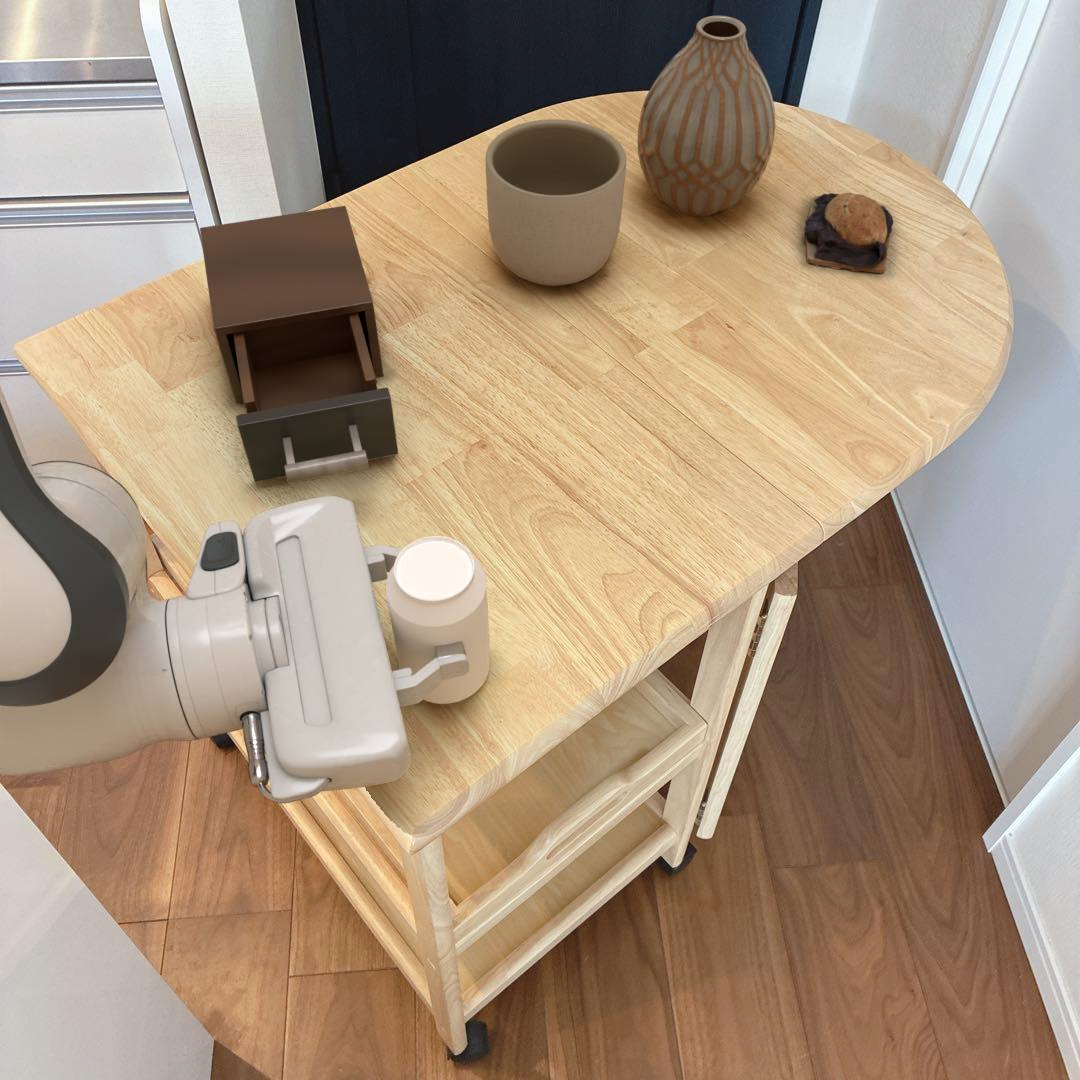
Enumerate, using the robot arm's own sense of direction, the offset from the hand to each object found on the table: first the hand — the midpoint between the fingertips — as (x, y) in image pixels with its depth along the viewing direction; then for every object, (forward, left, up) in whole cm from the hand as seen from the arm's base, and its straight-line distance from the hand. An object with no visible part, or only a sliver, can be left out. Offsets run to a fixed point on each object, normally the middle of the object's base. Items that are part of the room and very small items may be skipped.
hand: (452, 608), depth 68 cm
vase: (+36, +48, -7) cm, 60 cm away
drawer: (-6, +24, -6) cm, 26 cm away
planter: (+19, +42, -7) cm, 47 cm away
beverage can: (-1, 0, -7) cm, 7 cm away
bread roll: (+48, +38, -7) cm, 62 cm away
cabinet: (-6, +37, -7) cm, 38 cm away
